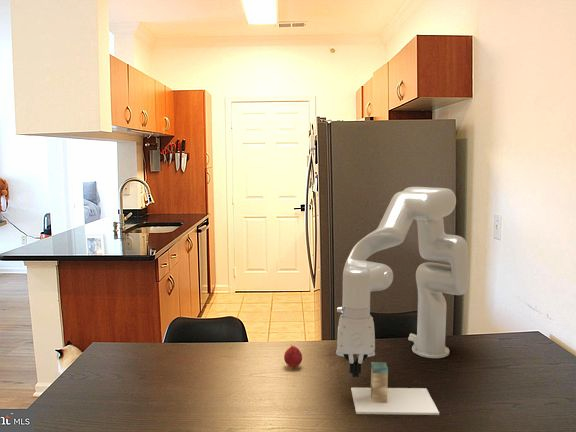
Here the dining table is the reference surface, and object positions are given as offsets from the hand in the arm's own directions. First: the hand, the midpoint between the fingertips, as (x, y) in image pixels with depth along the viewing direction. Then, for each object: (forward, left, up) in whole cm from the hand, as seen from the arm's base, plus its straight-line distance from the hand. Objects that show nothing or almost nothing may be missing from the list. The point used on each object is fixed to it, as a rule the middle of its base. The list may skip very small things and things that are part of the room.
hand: (355, 375), depth 140 cm
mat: (+7, +8, -8) cm, 13 cm away
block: (+5, +5, -7) cm, 10 cm away
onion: (-28, +2, -8) cm, 29 cm away
